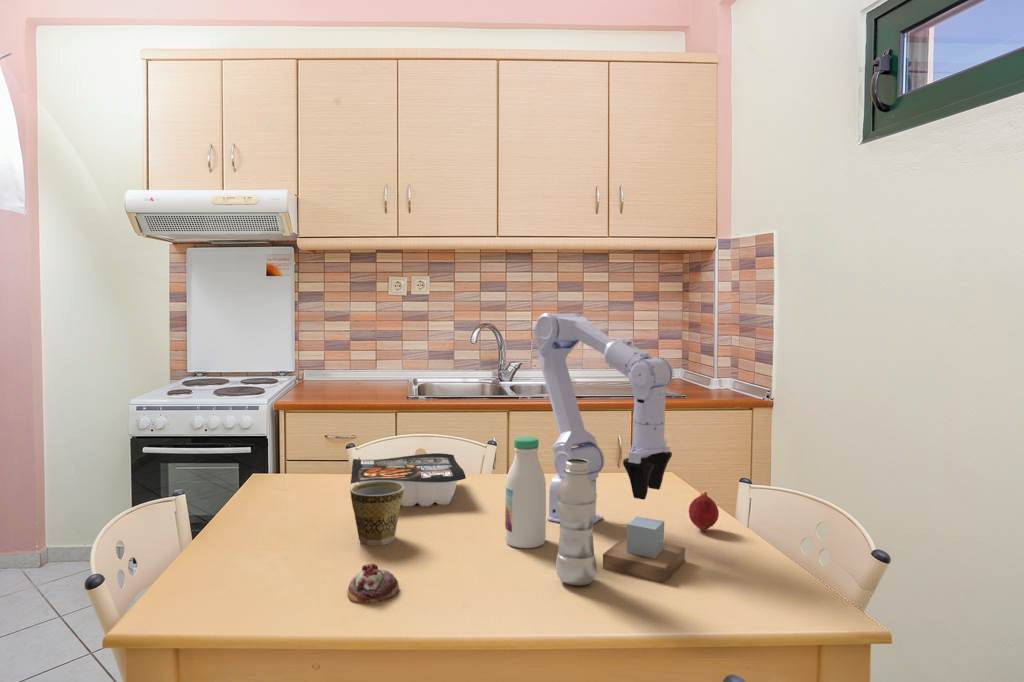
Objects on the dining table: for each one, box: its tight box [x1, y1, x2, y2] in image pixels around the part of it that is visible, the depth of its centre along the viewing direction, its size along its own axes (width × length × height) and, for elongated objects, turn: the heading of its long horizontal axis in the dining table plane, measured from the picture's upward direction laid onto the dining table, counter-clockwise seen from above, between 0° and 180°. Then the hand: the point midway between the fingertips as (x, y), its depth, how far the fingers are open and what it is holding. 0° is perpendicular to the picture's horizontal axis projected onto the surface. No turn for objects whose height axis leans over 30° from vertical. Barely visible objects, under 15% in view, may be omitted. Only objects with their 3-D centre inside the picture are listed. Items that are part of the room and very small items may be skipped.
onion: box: [688, 490, 720, 532], centre depth 131 cm, size 6×6×8 cm
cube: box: [626, 515, 665, 558], centre depth 113 cm, size 5×5×5 cm
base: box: [602, 534, 686, 584], centre depth 113 cm, size 11×11×2 cm
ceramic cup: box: [349, 481, 404, 546], centre depth 125 cm, size 13×10×10 cm
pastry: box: [346, 563, 399, 604], centre depth 101 cm, size 8×8×5 cm
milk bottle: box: [504, 436, 547, 549], centre depth 123 cm, size 8×8×20 cm
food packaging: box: [350, 452, 467, 507], centre depth 153 cm, size 25×8×23 cm
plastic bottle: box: [555, 459, 598, 586], centre depth 105 cm, size 6×7×20 cm
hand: (647, 493), depth 123 cm, fingers open, 7 cm apart
